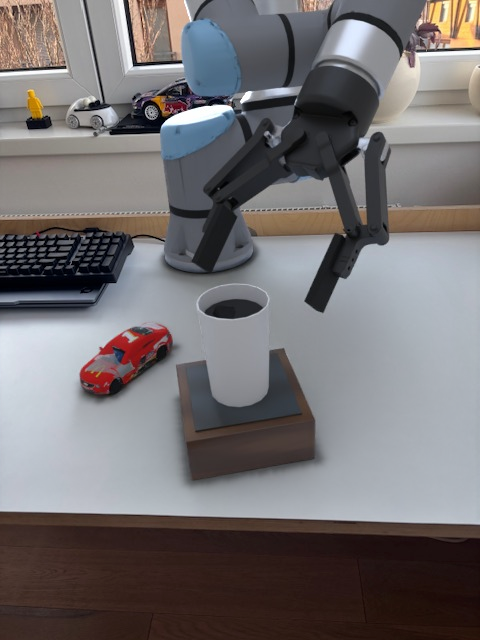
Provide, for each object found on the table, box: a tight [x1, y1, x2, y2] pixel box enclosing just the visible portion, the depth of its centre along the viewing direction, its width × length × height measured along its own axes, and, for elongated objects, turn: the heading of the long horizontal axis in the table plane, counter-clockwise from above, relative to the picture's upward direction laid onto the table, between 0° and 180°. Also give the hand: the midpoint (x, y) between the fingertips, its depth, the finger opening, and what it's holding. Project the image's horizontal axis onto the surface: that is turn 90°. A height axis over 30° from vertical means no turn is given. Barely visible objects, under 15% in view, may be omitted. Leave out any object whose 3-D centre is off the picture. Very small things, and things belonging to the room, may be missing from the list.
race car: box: [79, 321, 174, 395], centre depth 66 cm, size 13×5×4 cm, turn 143°
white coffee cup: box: [195, 283, 271, 407], centre depth 51 cm, size 7×7×10 cm
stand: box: [175, 347, 316, 481], centre depth 55 cm, size 12×12×5 cm
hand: (253, 286), depth 51 cm, fingers open, 13 cm apart
